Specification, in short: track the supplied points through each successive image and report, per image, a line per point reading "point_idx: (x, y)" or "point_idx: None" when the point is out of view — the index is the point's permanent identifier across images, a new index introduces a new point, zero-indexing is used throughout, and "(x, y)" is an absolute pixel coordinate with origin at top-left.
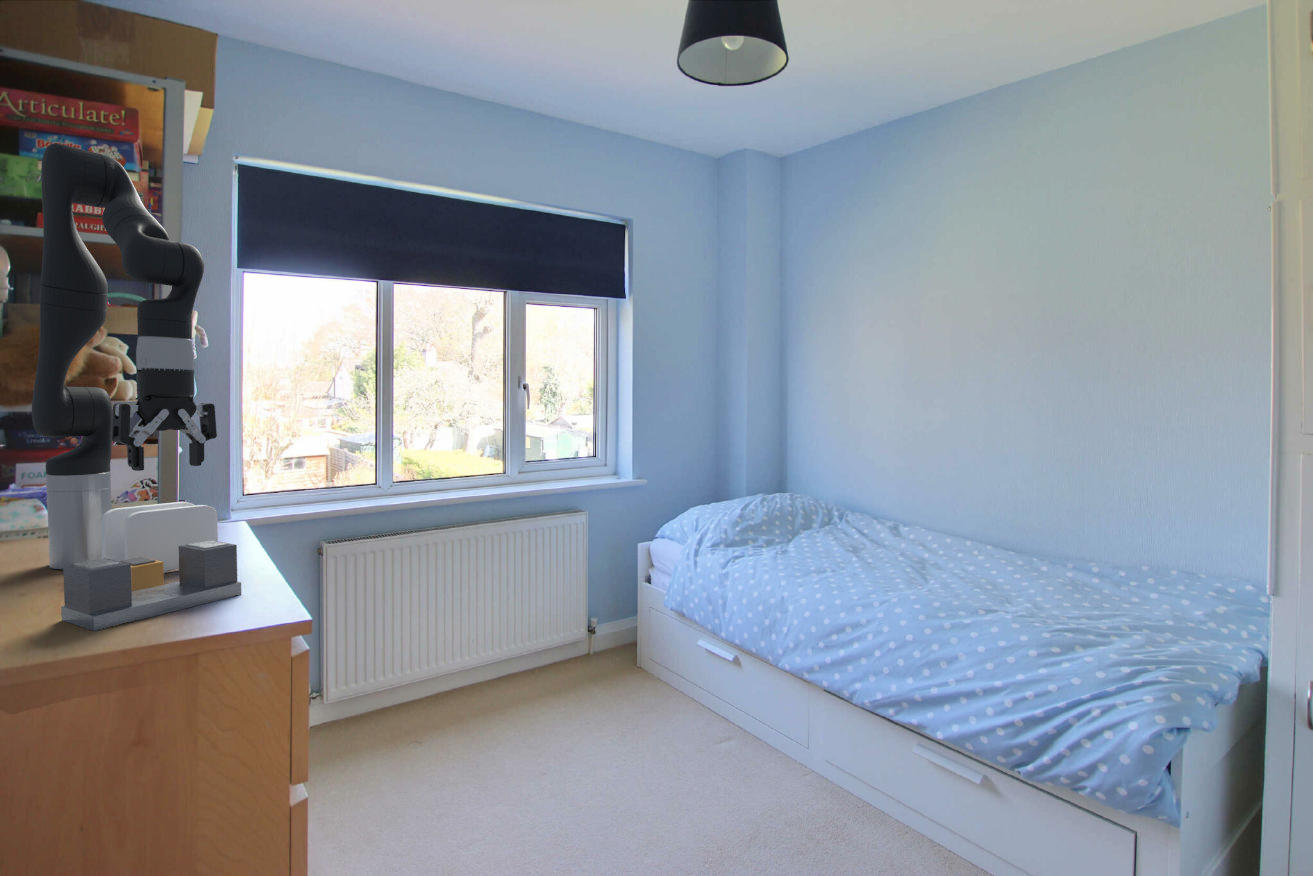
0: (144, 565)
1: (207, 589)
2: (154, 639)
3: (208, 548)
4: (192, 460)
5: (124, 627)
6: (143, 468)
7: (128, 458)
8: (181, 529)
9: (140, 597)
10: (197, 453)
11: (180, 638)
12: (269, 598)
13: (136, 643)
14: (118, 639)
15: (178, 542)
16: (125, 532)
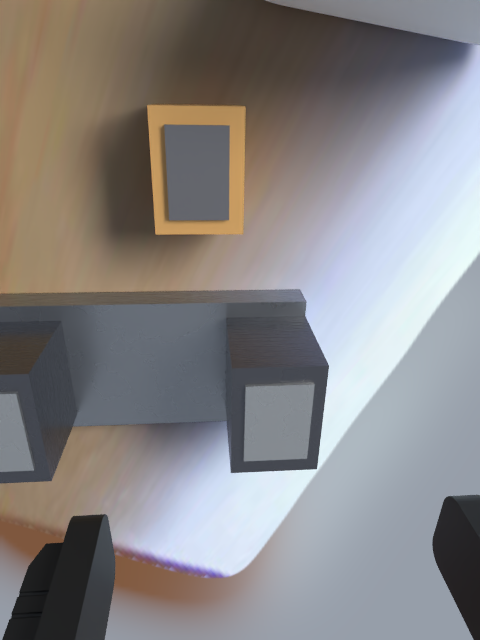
0: (190, 233)
1: (225, 417)
2: (67, 512)
3: (251, 459)
4: (458, 544)
5: None
6: (111, 580)
7: (17, 614)
8: (463, 7)
9: (112, 370)
10: (477, 637)
11: None
12: None
13: (42, 510)
14: None
15: (424, 14)
16: None
